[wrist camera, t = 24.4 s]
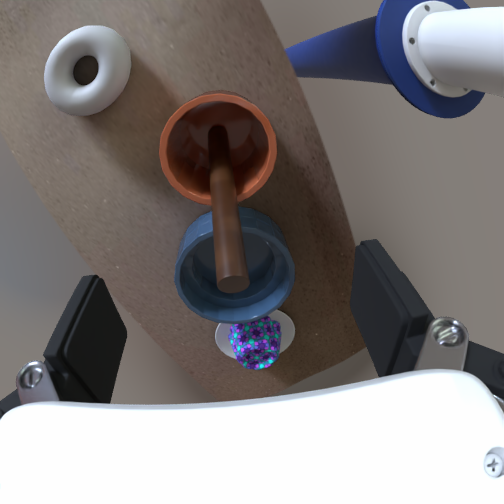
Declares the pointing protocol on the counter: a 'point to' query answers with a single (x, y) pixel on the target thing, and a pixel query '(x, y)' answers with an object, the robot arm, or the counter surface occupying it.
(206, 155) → the crock
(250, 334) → the pudding
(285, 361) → the counter surface
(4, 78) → the counter surface
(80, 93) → the donut
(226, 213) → the stick
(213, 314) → the bowl
